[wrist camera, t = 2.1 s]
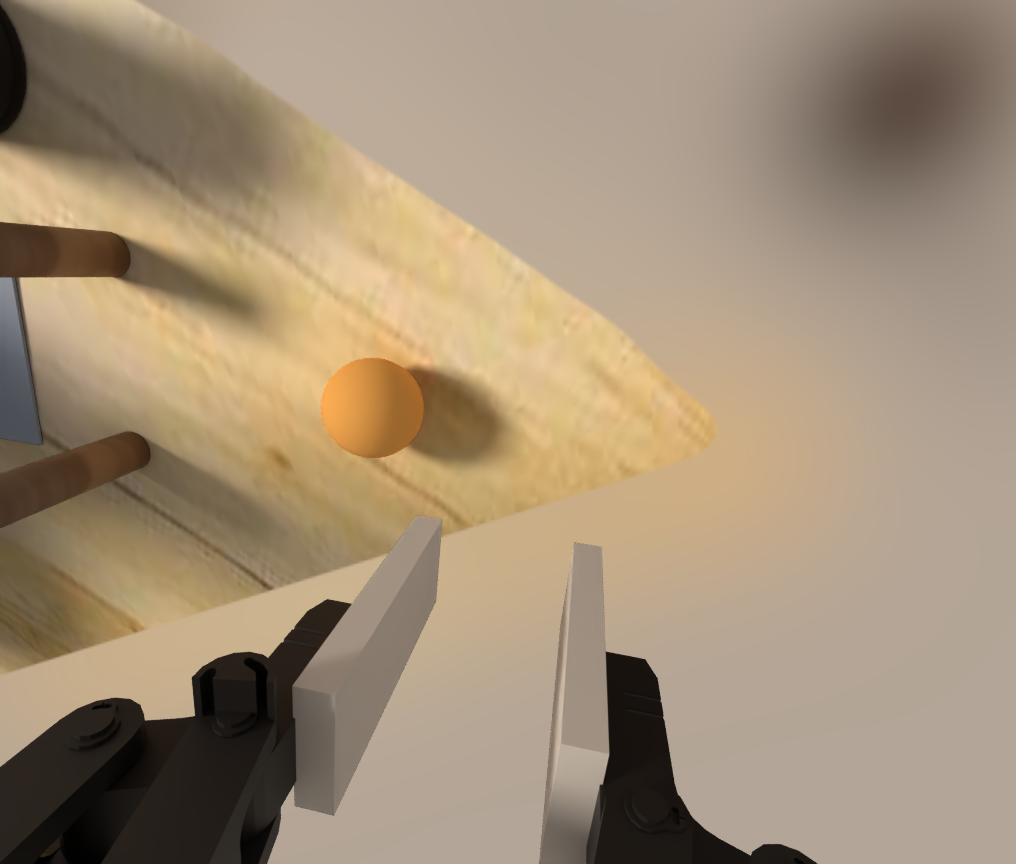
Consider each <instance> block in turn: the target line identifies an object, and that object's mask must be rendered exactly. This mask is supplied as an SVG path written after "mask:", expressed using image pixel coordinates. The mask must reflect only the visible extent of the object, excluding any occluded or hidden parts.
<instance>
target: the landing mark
mask: <svg viewBox="0 0 1016 864" xmlns="http://www.w3.org/2000/svg"><path fill="white" fill-rule="evenodd" d="M0 438H2V439H8V440H13V441H19V442H25V443H31V444H37V445H42V444H43V442H42V436H41V430H40V424H39V418H38V412H37V406H36V400H35V394H34V388H33V382H32V377H31V371H30V365H29V359H28V353H27V347H26V341H25V335H24V329H23V323H22V317H21V311H20V305H19V299H18V293H17V287H16V281H15V277H14V278H0Z"/></svg>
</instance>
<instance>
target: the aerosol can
mask: <svg viewBox="0 0 1016 864" xmlns="http://www.w3.org/2000/svg"><path fill="white" fill-rule="evenodd" d="M25 84H26V74H25V63H24V58H23V54H22V49H21V45H20V43H19V40H18V37H17V35H16V32H15V29H14V28H13V26H12V24H11V22H10V20H9V18H8V16H7V14H6V13H5V12H4V10H3V9H2V7H1V6H0V133H2V132H3V131H5V130H6V129H7V128H8V127H9V126H10V125H11V124H12V123H13V121H14V120H15V119H16V117H17V115H18V113H19V111H20V109H21V106H22V102H23V99H24V95H25Z"/></svg>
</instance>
